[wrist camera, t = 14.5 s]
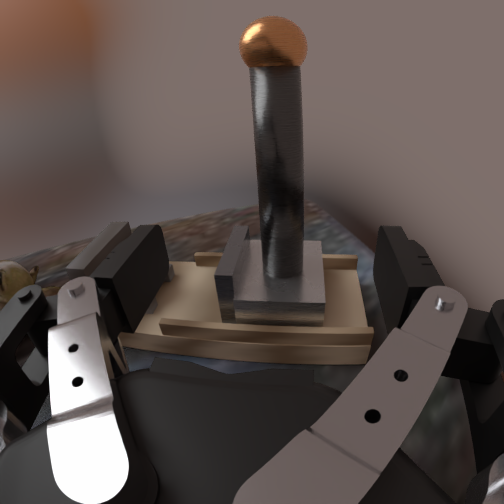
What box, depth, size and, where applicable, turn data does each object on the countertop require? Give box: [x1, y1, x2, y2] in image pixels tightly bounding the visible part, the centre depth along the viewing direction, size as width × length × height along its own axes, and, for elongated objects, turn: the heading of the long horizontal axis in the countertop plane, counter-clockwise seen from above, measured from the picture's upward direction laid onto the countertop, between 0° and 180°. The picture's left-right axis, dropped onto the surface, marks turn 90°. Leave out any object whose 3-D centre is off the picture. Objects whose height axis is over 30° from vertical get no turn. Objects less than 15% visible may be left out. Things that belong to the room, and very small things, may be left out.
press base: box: [65, 222, 374, 365], centre depth 25 cm, size 24×10×7 cm, turn 82°
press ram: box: [214, 16, 326, 327], centre depth 20 cm, size 7×8×20 cm
